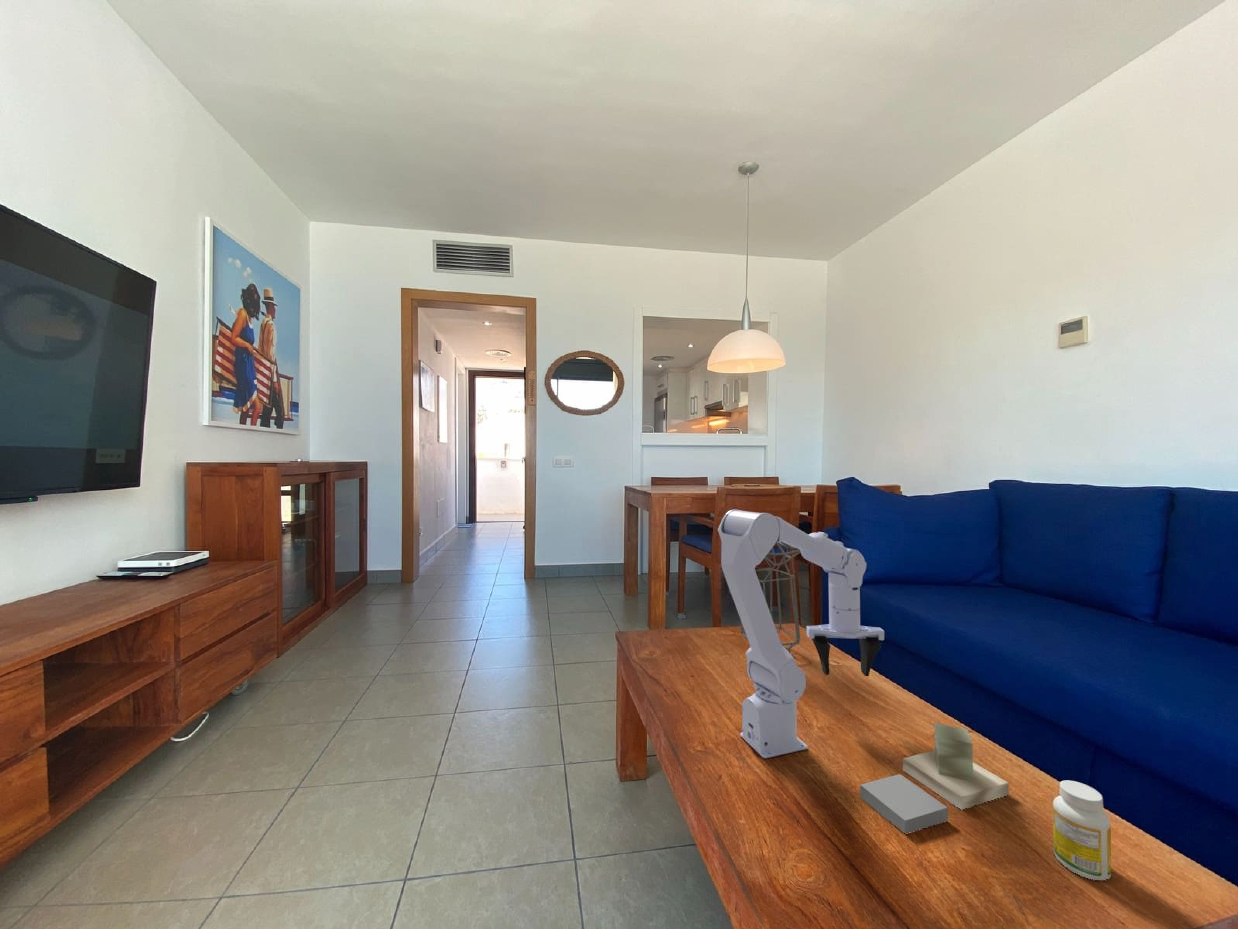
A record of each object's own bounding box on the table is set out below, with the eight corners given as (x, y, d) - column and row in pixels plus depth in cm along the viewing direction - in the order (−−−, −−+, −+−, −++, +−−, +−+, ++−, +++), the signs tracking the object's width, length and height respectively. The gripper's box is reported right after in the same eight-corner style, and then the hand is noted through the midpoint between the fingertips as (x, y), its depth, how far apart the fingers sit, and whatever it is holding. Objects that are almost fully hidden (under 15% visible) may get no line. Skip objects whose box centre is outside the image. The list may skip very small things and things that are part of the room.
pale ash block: (961, 810, 71) (961, 797, 71) (903, 770, 81) (902, 758, 81) (1008, 795, 74) (1008, 782, 74) (947, 758, 84) (946, 747, 84)
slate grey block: (905, 835, 67) (905, 820, 67) (860, 797, 74) (860, 784, 74) (947, 821, 69) (947, 807, 69) (900, 786, 77) (900, 774, 77)
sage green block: (938, 774, 77) (938, 736, 77) (935, 758, 81) (934, 723, 81) (973, 782, 75) (972, 743, 75) (967, 766, 79) (967, 729, 79)
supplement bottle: (1085, 885, 59) (1083, 806, 59) (1042, 850, 64) (1040, 778, 64) (1124, 881, 59) (1122, 803, 59) (1078, 846, 64) (1077, 775, 64)
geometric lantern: (812, 660, 127) (808, 529, 127) (759, 668, 123) (755, 533, 123) (777, 639, 143) (774, 521, 142) (730, 646, 138) (726, 525, 138)
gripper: (813, 611, 94) (814, 681, 94) (890, 613, 92) (892, 683, 92) (803, 601, 101) (804, 666, 101) (875, 602, 99) (876, 668, 99)
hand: (845, 673), depth 97 cm, fingers open, 7 cm apart
